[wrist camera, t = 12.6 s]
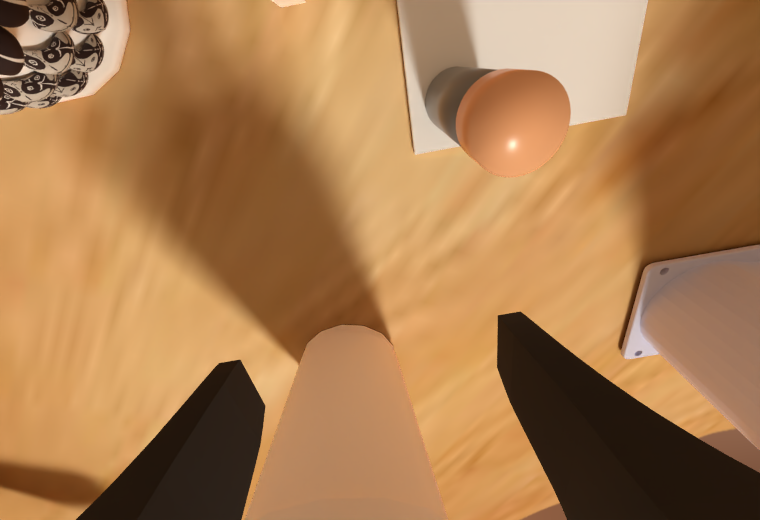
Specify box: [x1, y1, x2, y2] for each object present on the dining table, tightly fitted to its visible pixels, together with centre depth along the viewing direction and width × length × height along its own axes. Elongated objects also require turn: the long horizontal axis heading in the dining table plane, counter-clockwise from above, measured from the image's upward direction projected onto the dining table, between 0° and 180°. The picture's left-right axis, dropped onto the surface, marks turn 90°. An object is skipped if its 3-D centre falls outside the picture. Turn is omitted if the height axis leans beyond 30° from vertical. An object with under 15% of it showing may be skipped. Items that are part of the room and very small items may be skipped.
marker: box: [425, 66, 571, 177], centre depth 12 cm, size 3×3×7 cm
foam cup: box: [245, 325, 448, 520], centre depth 18 cm, size 10×9×13 cm
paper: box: [397, 0, 648, 155], centre depth 14 cm, size 10×8×1 cm
